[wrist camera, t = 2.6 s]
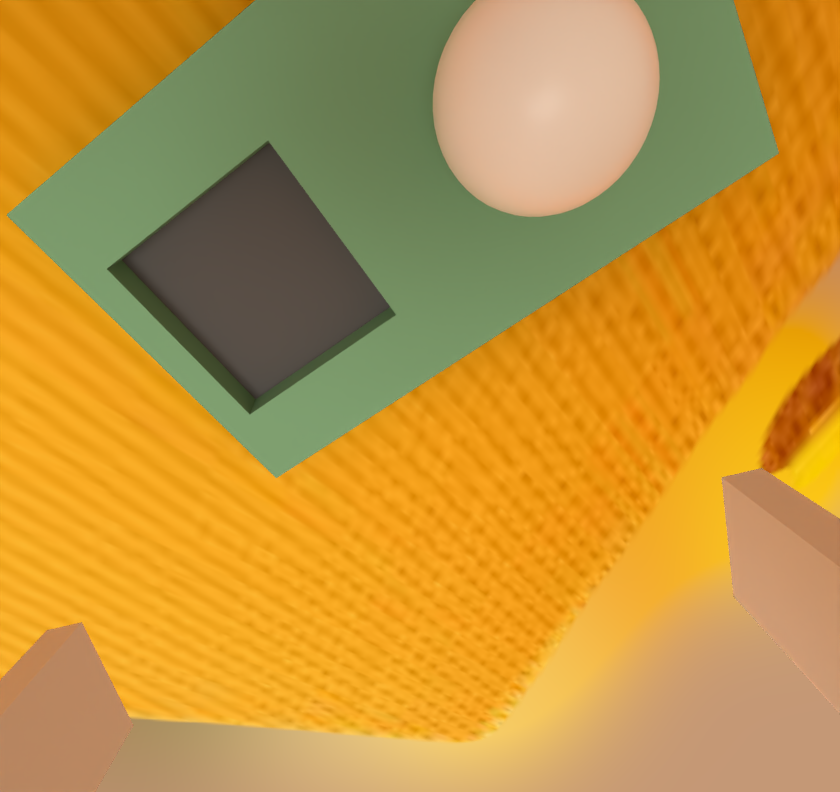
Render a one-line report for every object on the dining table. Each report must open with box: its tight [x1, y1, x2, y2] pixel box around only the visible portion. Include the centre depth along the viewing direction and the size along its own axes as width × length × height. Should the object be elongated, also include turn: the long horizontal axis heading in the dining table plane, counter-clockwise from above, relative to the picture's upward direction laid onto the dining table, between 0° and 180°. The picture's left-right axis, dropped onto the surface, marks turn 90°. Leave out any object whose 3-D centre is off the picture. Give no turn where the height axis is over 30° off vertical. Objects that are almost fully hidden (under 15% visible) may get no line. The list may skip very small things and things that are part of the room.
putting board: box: [7, 0, 779, 478], centre depth 32 cm, size 38×22×2 cm, turn 124°
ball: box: [433, 0, 660, 217], centre depth 25 cm, size 10×10×10 cm
